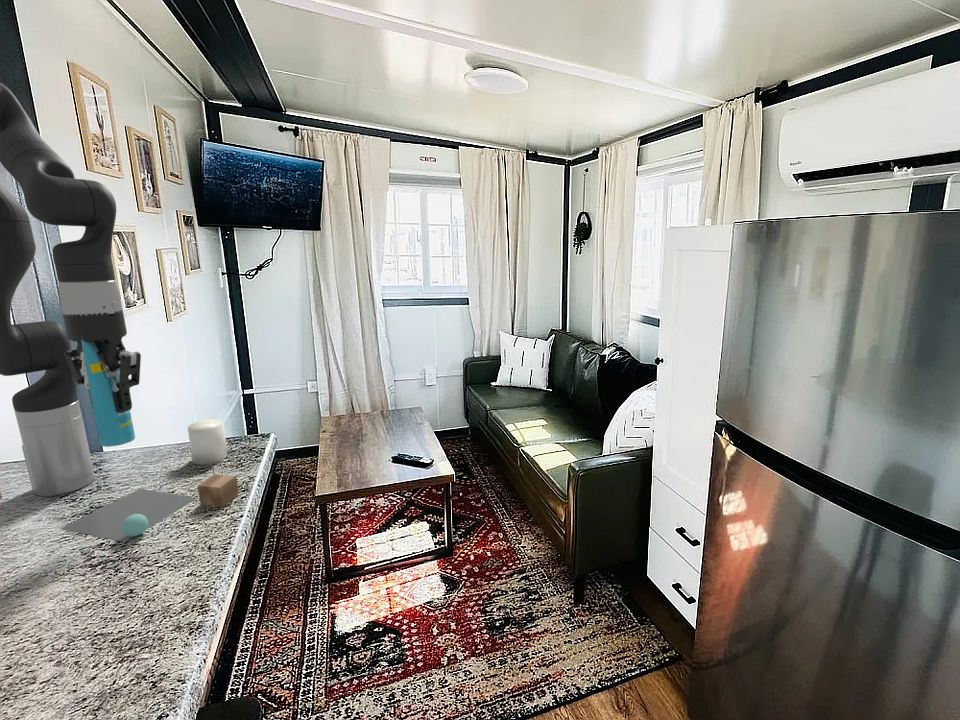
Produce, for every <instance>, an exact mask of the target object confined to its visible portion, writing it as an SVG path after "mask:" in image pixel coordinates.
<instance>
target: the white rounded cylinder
mask: <svg viewBox="0 0 960 720" xmlns="http://www.w3.org/2000/svg"><path fill="white" fill-rule="evenodd" d="M187 432H188V440H189V445H190V446H189V447H190V453H191V454H190V455H191V460H192V461H191V462H192V463H193V464H195V465H199V466H200V465H210V464H216V463H219V462H221V461H223V460H224V458H225V459H226V458H227V457H228V448H227V439H226V431H225V423H224V421H223V420H221V419H214V418H211V419H210V418H209V419H203V420H199V421H195V422H193V423H190V424H189V425H188V426H187Z"/></svg>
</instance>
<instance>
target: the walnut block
mask: <svg viewBox="0 0 960 720" xmlns="http://www.w3.org/2000/svg"><path fill="white" fill-rule="evenodd" d="M238 487H239V486H238V479H237V476H236V475H227V474H216V473H215V474H213V475H212V476H210V477H208V478H207V479H206V480H204V481H202V482H201V483H200V484H198V485H197V489H198V497H199V503H200V505H201V506H202V505H203V506H213V507H224V506H225V505H227V504H228V503H229V502H230V501H232V500H233V499H234V498H236V497H237V496H238V495H239V494H240V493H239V488H238Z"/></svg>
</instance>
